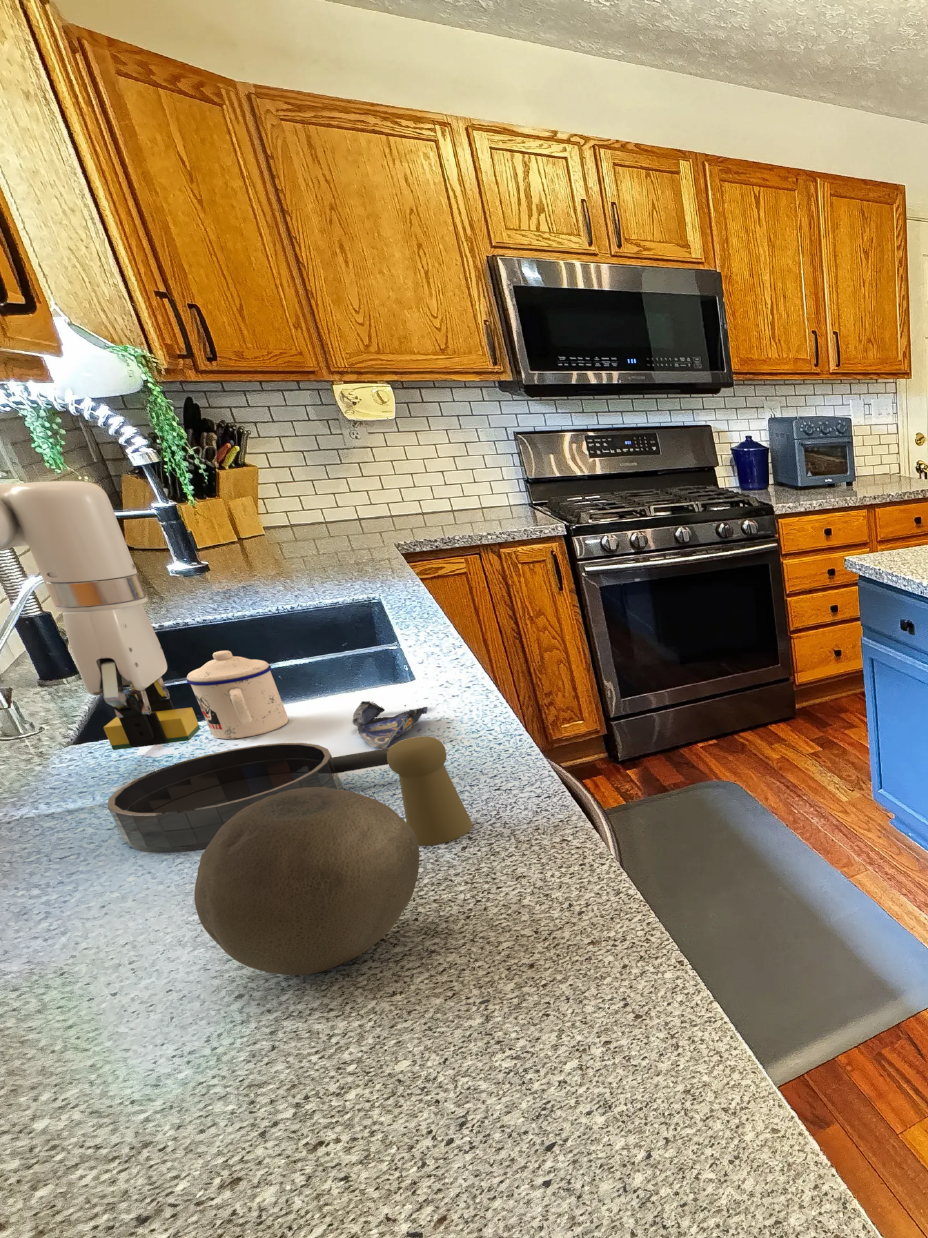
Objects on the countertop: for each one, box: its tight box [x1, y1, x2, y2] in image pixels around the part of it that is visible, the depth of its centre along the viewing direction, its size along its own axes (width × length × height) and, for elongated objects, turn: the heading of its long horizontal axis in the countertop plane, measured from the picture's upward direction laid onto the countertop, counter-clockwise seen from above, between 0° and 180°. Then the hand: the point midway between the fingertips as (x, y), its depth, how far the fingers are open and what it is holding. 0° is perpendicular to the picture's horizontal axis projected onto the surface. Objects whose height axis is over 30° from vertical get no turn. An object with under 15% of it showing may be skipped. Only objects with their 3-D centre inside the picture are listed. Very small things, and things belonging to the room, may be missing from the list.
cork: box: [387, 735, 474, 847], centre depth 87 cm, size 6×6×11 cm
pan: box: [107, 742, 343, 853], centre depth 93 cm, size 19×19×4 cm
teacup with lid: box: [186, 650, 289, 740], centre depth 115 cm, size 12×9×12 cm
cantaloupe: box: [193, 787, 420, 976], centre depth 67 cm, size 14×14×15 cm
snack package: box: [351, 700, 428, 749], centre depth 115 cm, size 12×6×12 cm
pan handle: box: [329, 747, 390, 774], centre depth 99 cm, size 12×2×2 cm, turn 119°
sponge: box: [103, 707, 201, 751], centre depth 100 cm, size 7×4×3 cm, turn 119°
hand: (157, 736), depth 100 cm, fingers closed on sponge, 4 cm apart
